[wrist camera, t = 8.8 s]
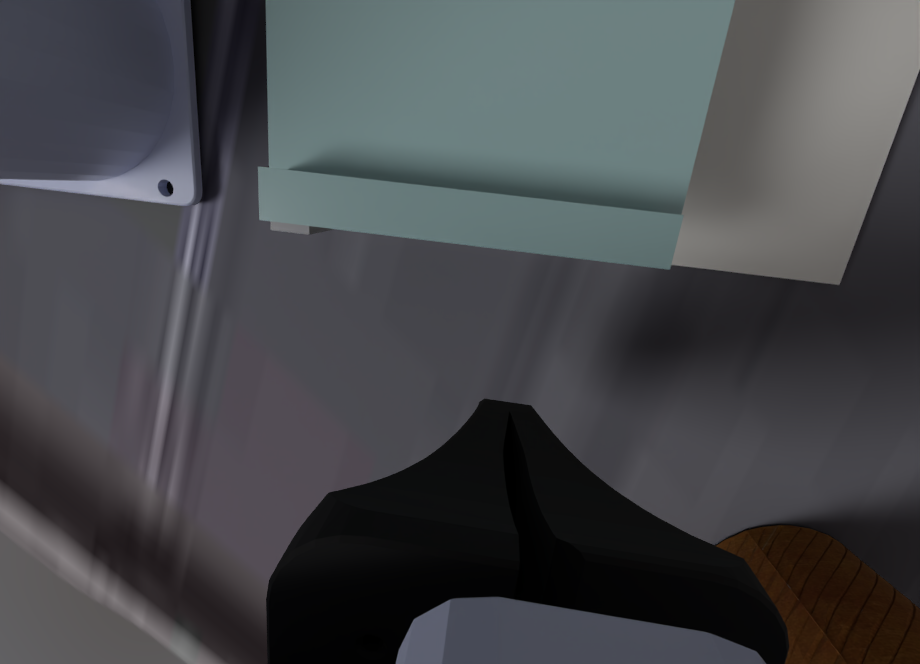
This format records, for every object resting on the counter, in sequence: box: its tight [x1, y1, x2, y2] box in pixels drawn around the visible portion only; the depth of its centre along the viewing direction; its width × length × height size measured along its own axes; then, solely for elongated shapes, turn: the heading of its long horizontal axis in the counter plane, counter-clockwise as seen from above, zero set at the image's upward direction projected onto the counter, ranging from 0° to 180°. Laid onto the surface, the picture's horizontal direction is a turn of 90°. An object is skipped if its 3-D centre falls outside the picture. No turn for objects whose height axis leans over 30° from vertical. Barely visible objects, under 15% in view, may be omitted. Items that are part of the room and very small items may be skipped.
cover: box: [258, 0, 735, 270], centre depth 9 cm, size 9×7×2 cm
